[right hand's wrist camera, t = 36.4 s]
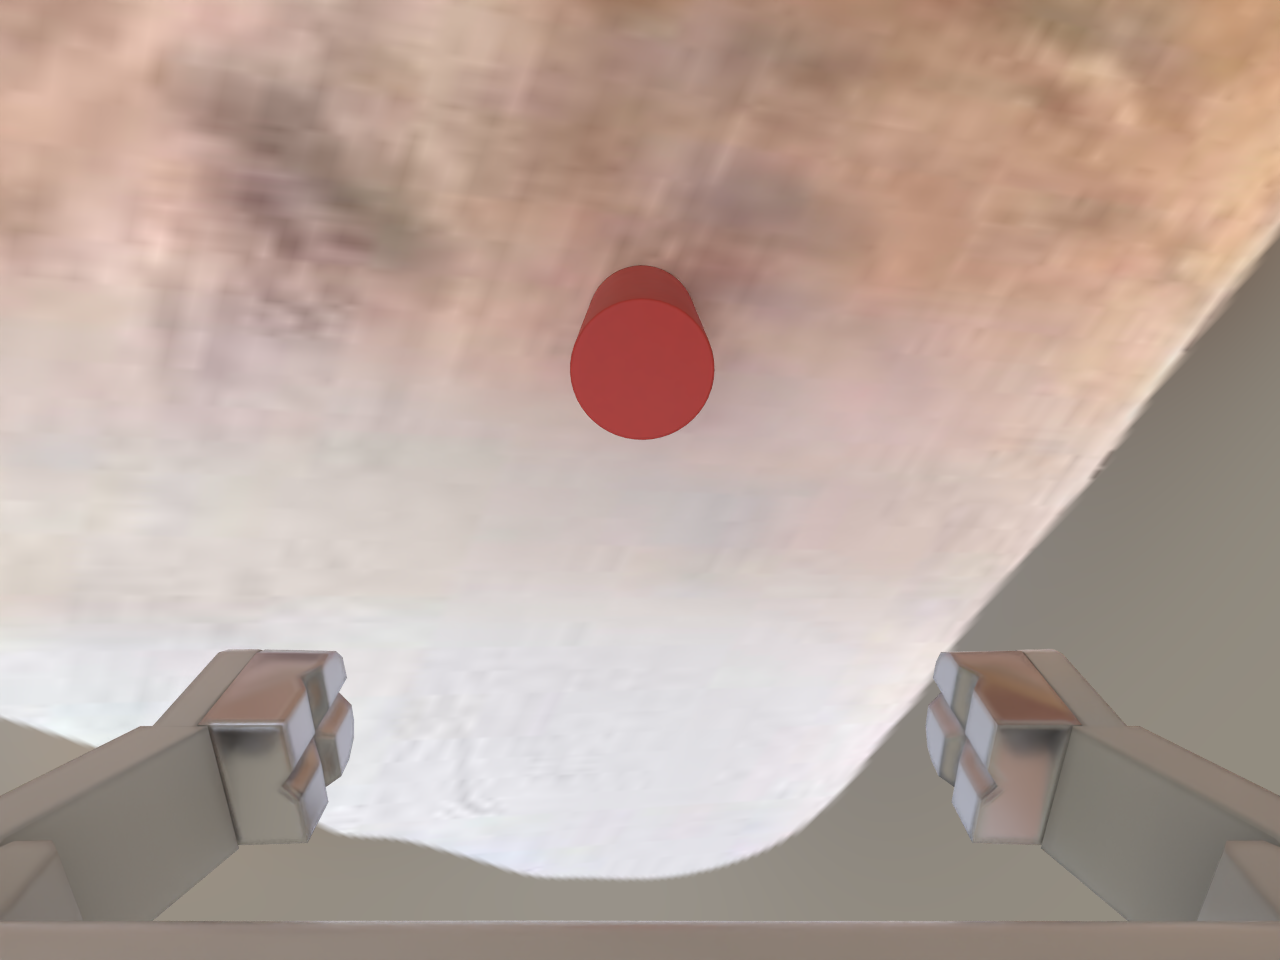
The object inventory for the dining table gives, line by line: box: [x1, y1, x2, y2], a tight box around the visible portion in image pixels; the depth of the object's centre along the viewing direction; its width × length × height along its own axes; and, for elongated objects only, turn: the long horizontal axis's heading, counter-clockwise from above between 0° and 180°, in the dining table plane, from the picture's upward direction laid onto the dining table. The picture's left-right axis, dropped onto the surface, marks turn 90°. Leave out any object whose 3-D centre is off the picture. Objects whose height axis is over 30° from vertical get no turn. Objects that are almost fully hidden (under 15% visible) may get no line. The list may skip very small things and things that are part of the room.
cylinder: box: [570, 266, 714, 440], centre depth 32 cm, size 5×5×10 cm
